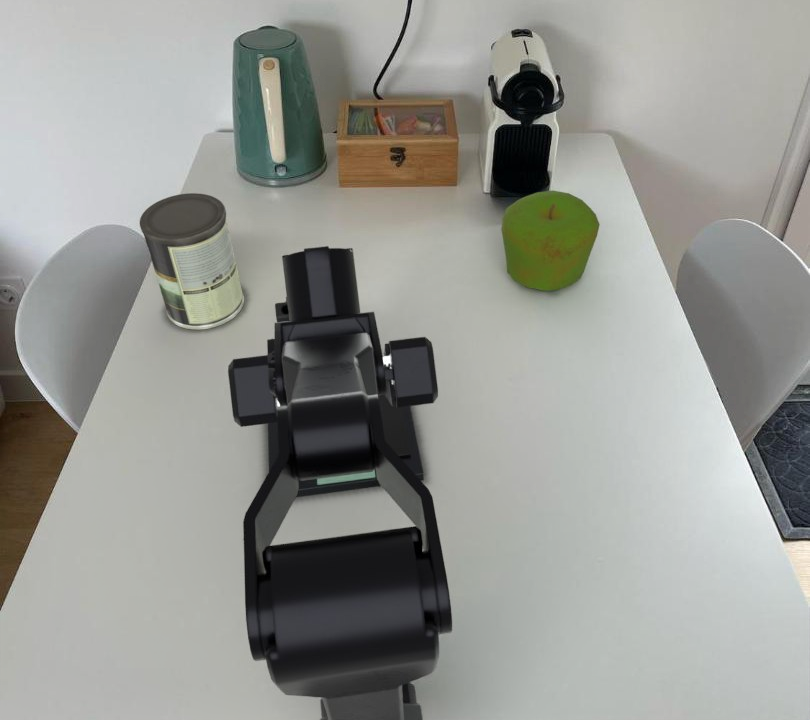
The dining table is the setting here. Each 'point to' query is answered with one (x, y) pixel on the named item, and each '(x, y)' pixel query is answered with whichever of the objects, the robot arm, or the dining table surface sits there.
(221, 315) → the coffee can
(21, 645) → the dining table surface
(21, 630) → the dining table surface
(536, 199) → the apple
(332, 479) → the scale
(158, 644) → the dining table surface
